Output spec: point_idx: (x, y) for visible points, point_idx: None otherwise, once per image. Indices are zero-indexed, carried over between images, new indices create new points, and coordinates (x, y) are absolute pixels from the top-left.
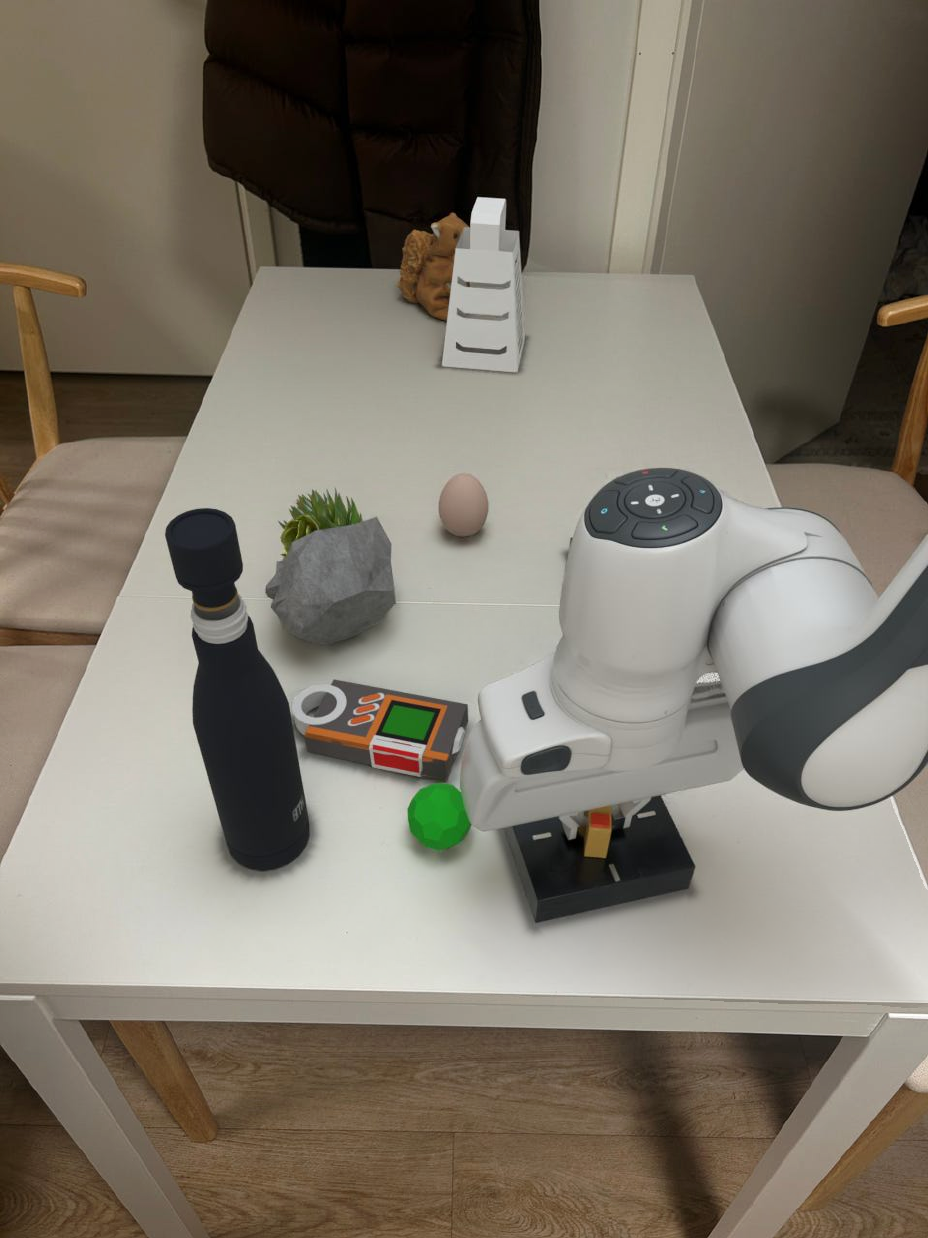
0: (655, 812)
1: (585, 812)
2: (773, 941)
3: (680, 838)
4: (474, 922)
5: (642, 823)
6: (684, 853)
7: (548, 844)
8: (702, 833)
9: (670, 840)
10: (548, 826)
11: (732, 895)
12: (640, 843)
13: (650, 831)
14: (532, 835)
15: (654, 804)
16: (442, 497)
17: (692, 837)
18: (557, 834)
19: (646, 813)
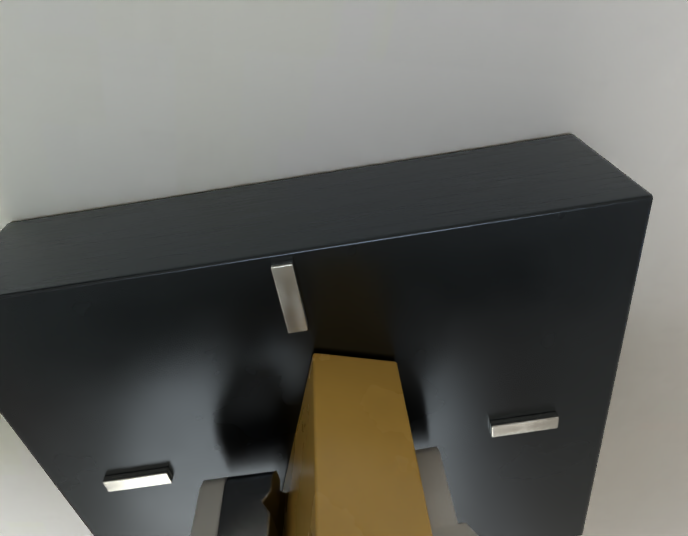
0: (560, 414)
1: (292, 489)
2: (643, 516)
3: (589, 478)
4: (18, 491)
5: (496, 442)
6: (573, 512)
7: (163, 494)
8: (666, 320)
9: (556, 485)
10: (162, 447)
11: (627, 452)
12: (460, 491)
13: (509, 462)
14: (105, 470)
15: (574, 386)
16: None
17: (630, 329)
18: (194, 468)
19: (527, 423)
